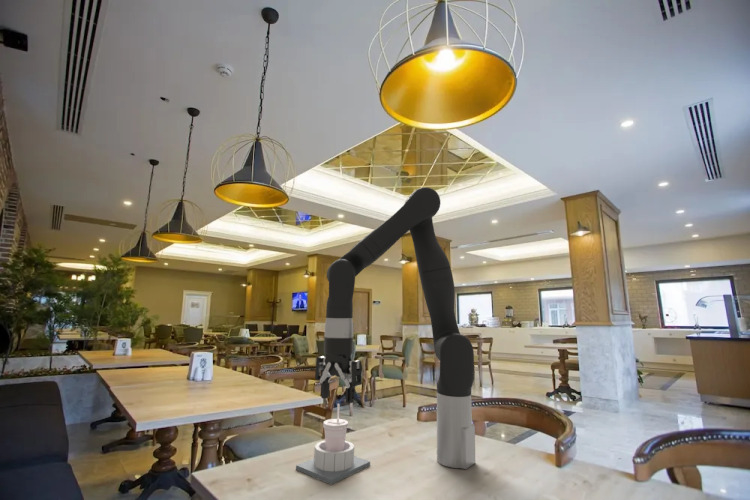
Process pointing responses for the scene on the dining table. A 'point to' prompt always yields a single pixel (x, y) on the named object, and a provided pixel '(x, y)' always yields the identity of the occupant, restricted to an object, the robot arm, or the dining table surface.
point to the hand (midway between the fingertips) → (336, 400)
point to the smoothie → (335, 433)
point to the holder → (332, 463)
